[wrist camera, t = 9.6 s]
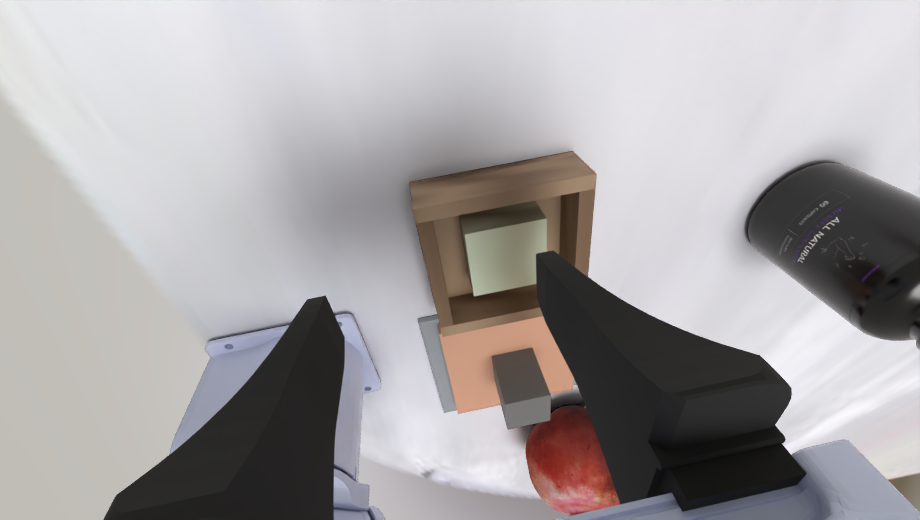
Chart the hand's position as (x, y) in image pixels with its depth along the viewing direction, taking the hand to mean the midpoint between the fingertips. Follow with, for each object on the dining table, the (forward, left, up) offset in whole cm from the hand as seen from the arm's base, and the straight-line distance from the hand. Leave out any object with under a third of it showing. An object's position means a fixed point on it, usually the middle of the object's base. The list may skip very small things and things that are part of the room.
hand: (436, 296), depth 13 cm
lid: (+4, -15, -9) cm, 18 cm away
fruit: (+8, -27, -10) cm, 30 cm away
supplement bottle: (+24, -7, -10) cm, 27 cm away
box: (+4, -4, -9) cm, 11 cm away
